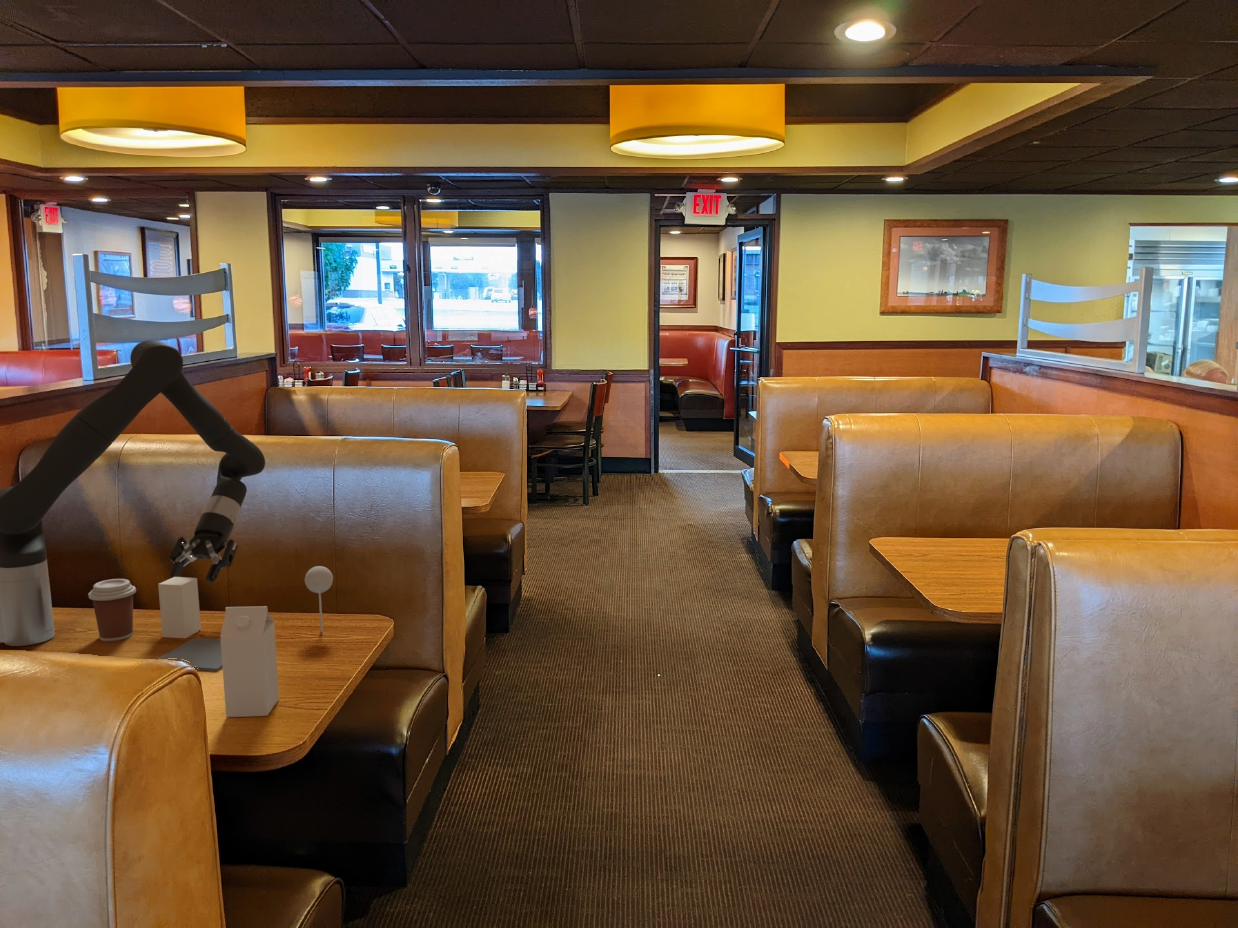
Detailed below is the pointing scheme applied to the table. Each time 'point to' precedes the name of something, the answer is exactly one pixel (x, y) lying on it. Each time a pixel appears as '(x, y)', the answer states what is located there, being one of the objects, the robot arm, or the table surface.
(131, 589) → the coffee cup
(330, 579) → the lollipop
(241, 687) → the milk carton
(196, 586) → the block
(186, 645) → the mat
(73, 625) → the table surface
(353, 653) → the table surface
